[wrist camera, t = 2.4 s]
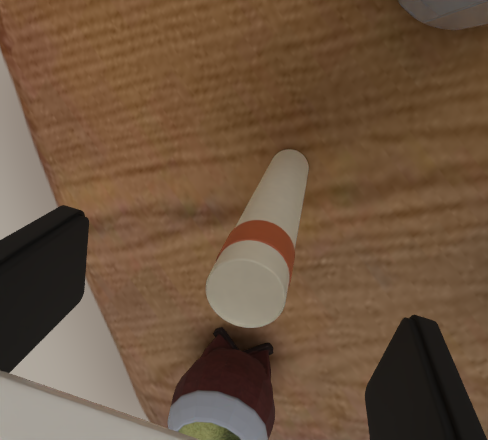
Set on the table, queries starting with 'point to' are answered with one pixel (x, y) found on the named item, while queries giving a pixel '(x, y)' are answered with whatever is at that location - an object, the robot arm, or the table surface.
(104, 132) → the table surface
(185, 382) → the mate gourd
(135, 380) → the table surface
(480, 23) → the tumbler
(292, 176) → the beige cylinder rod
